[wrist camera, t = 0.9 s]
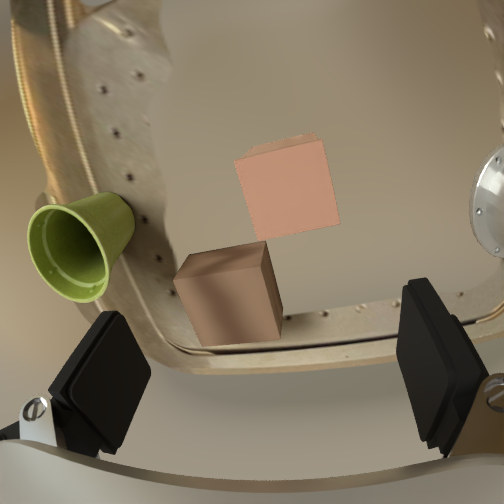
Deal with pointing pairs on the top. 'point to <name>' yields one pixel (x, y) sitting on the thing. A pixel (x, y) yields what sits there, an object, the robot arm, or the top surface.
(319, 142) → the peach lipped block
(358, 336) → the top surface
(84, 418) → the robot arm
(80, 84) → the top surface
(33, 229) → the plant pot
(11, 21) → the top surface
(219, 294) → the walnut box
